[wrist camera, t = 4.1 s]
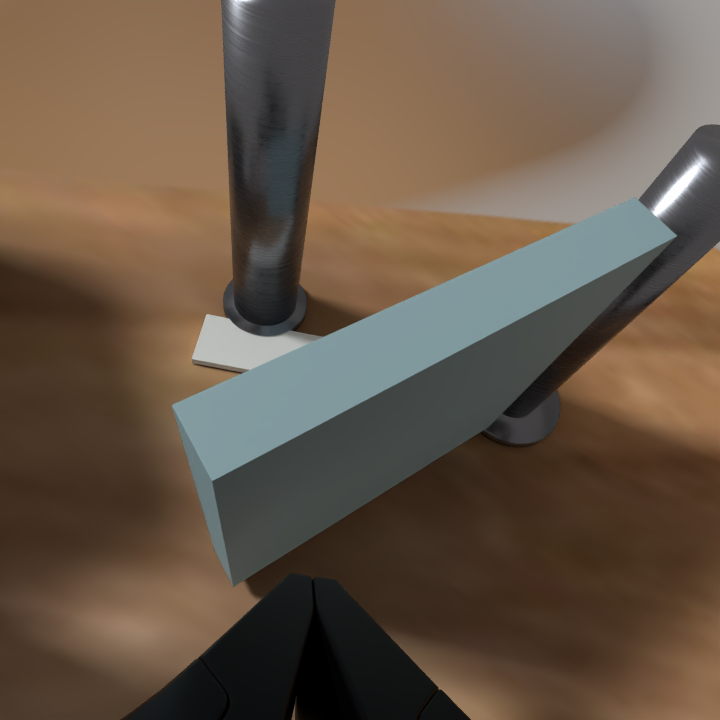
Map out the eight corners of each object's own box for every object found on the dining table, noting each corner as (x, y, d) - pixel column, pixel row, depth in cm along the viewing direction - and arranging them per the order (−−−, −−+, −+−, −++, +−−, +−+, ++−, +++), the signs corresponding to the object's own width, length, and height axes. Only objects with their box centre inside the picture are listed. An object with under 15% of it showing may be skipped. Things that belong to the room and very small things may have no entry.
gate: (468, 400, 20) (635, 197, 11) (488, 426, 19) (677, 235, 11) (214, 549, 15) (171, 404, 7) (233, 586, 15) (211, 480, 7)
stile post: (322, 311, 21) (384, 5, 11) (260, 355, 20) (270, 44, 10) (269, 262, 22) (286, -65, 12) (206, 300, 20) (167, -39, 11)
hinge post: (573, 404, 21) (853, 174, 11) (518, 468, 19) (798, 260, 9) (497, 338, 22) (693, 75, 12) (437, 393, 20) (614, 135, 10)
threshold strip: (449, 365, 21) (451, 362, 21) (447, 410, 20) (450, 407, 20) (207, 318, 20) (206, 314, 20) (192, 363, 19) (191, 358, 19)
